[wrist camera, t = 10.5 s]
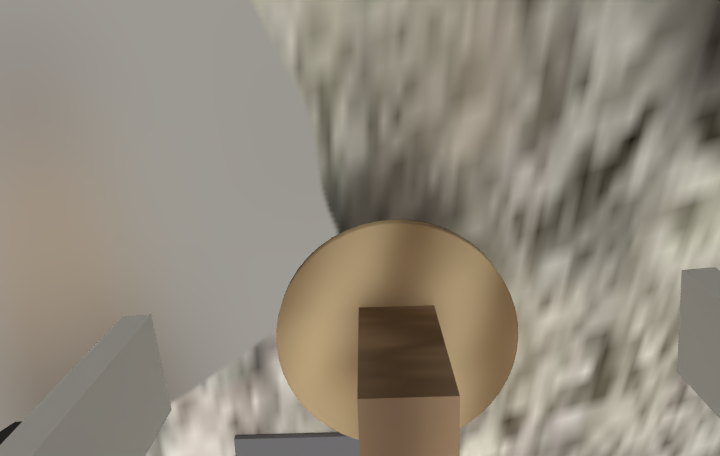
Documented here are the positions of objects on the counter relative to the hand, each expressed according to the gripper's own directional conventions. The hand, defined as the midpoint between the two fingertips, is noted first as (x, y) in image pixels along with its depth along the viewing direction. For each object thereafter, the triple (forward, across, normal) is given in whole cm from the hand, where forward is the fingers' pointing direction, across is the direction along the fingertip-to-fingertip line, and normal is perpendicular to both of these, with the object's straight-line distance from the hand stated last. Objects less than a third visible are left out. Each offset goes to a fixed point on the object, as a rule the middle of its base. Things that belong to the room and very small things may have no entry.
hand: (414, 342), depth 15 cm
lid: (+17, -1, -8) cm, 19 cm away
